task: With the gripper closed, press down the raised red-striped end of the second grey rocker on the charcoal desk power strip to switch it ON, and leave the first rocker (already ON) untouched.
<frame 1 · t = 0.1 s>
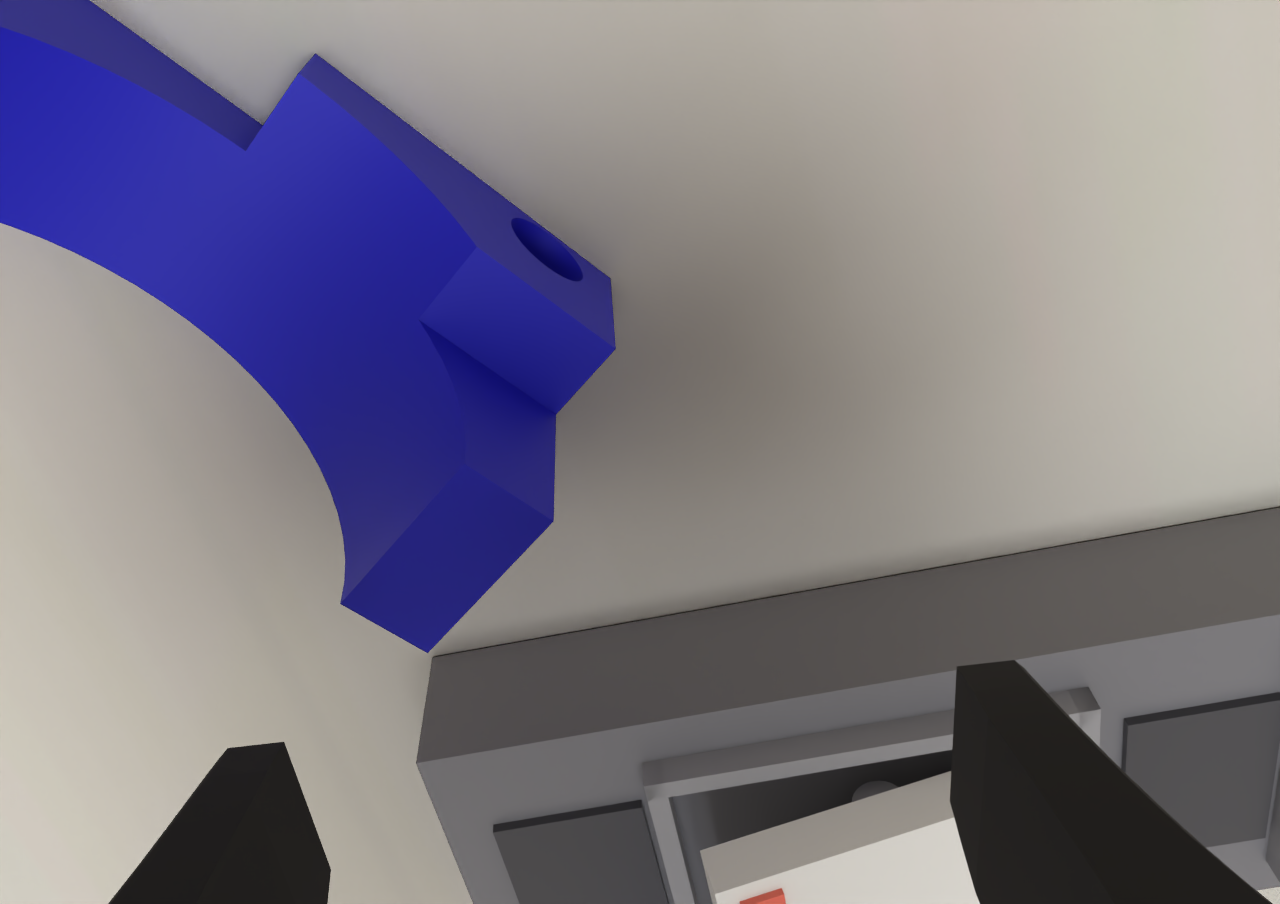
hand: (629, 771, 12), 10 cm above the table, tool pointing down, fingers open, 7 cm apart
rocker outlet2: (893, 883, 22), point 4 cm above the table, hinge at 10.0°
power strip: (1043, 690, 26), on the table
cable clip: (246, 155, 19), on the table
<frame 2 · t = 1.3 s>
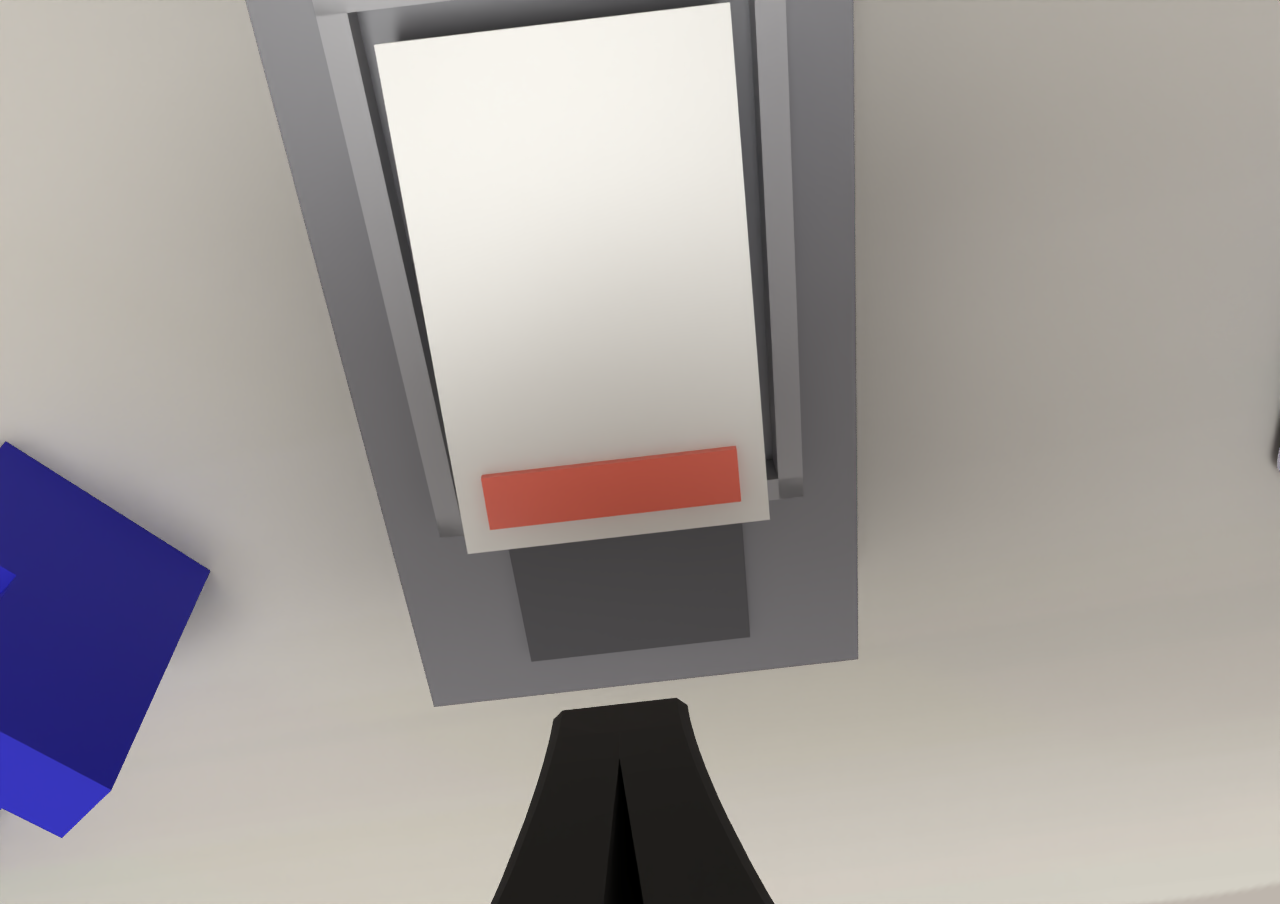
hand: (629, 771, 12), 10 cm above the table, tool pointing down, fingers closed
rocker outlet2: (588, 289, 16), point 4 cm above the table, hinge at 10.0°
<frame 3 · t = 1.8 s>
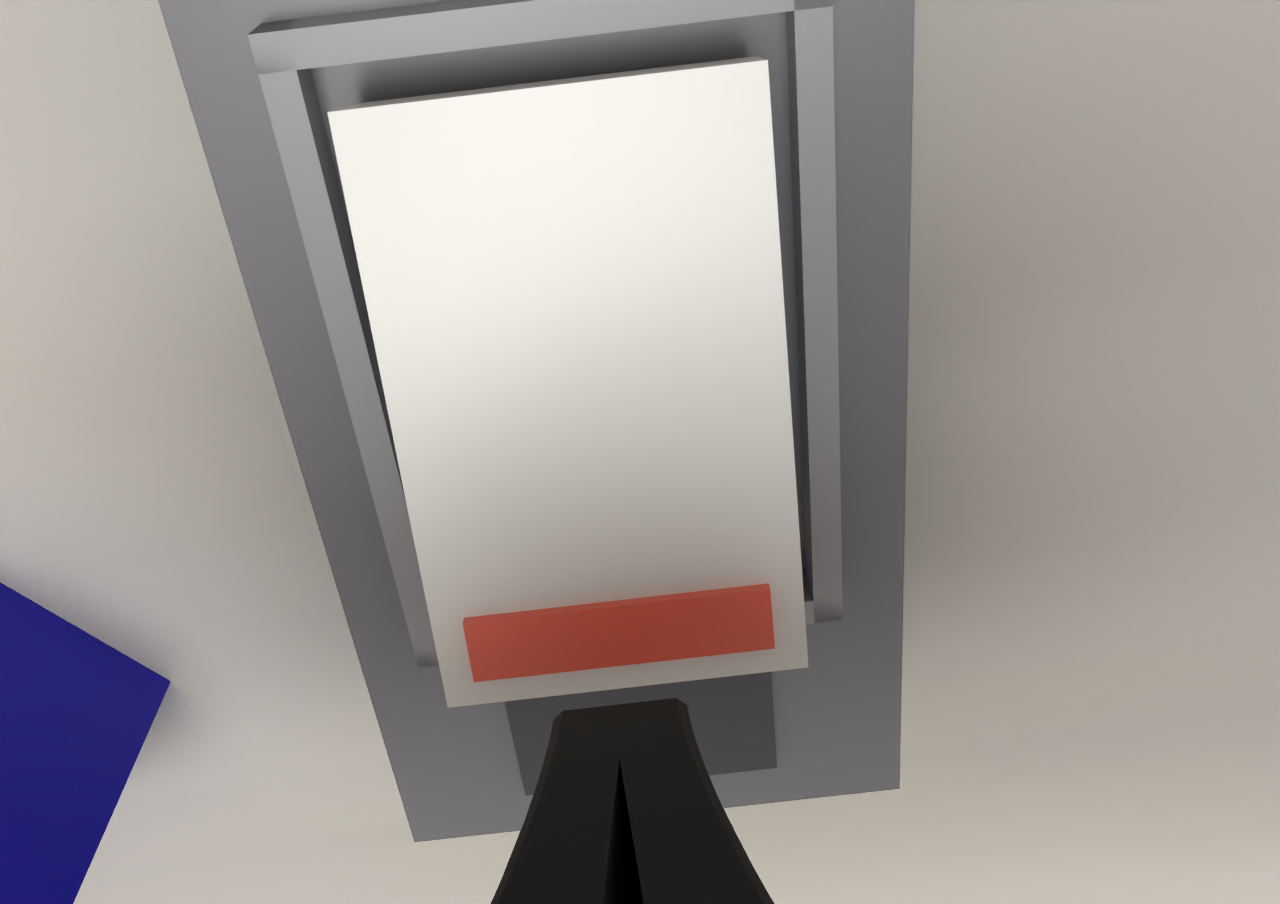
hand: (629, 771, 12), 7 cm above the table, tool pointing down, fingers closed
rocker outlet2: (592, 397, 13), point 4 cm above the table, hinge at 10.0°
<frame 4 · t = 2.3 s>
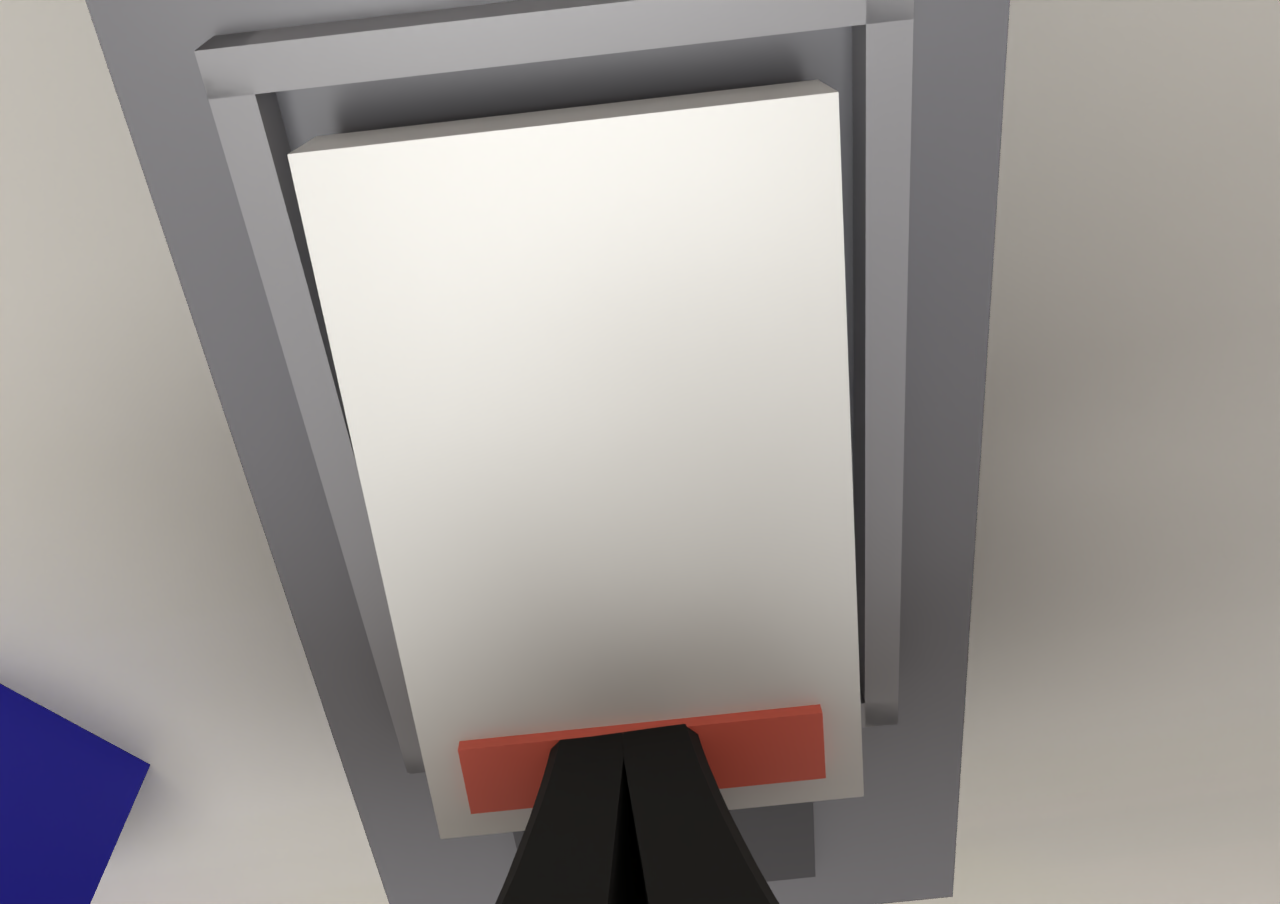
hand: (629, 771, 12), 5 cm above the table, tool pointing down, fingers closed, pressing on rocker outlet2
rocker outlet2: (612, 484, 11), point 4 cm above the table, hinge at 8.2°, touching gripper
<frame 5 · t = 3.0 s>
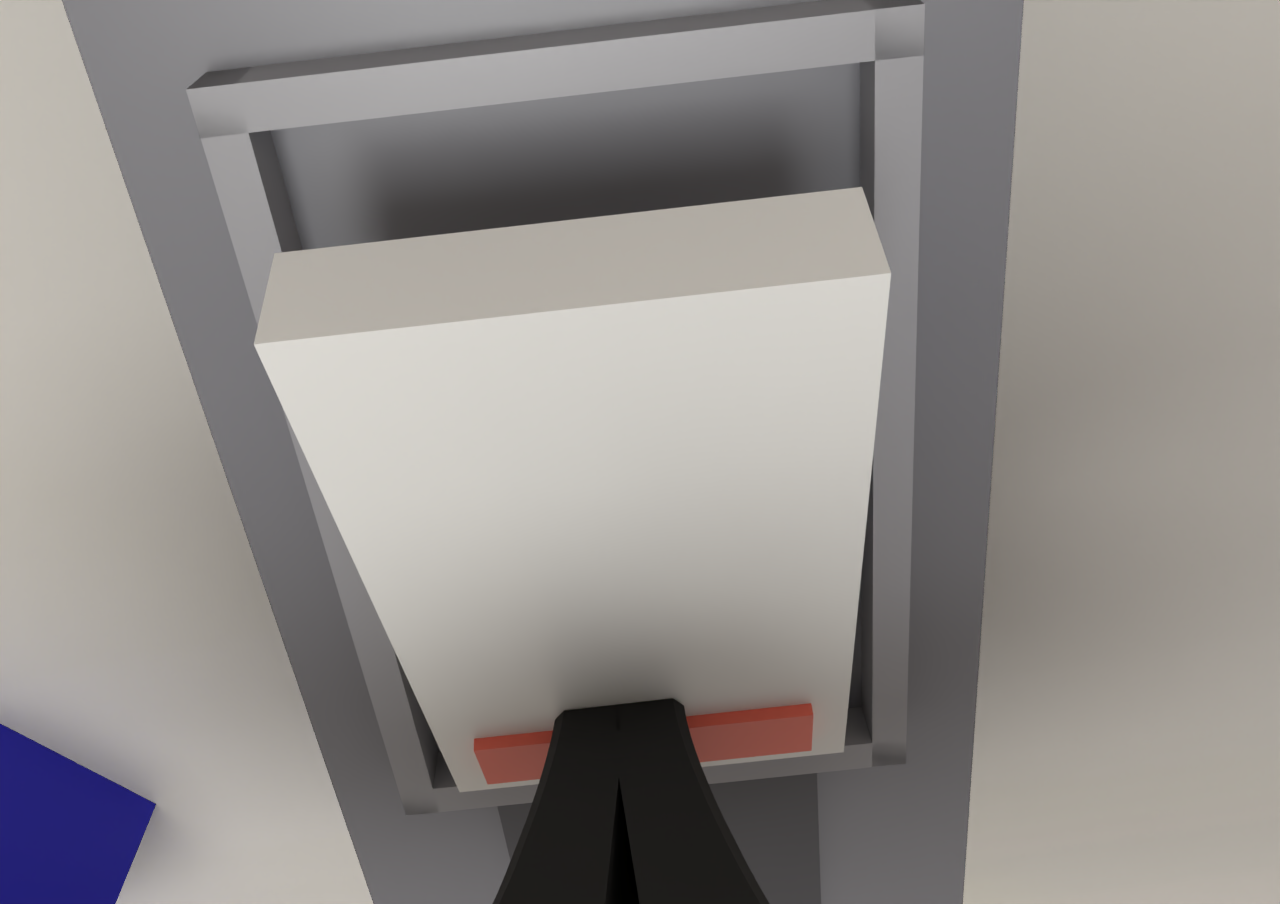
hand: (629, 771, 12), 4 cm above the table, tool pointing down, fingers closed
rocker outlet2: (616, 539, 11), point 4 cm above the table, hinge at -16.9°, touching power strip
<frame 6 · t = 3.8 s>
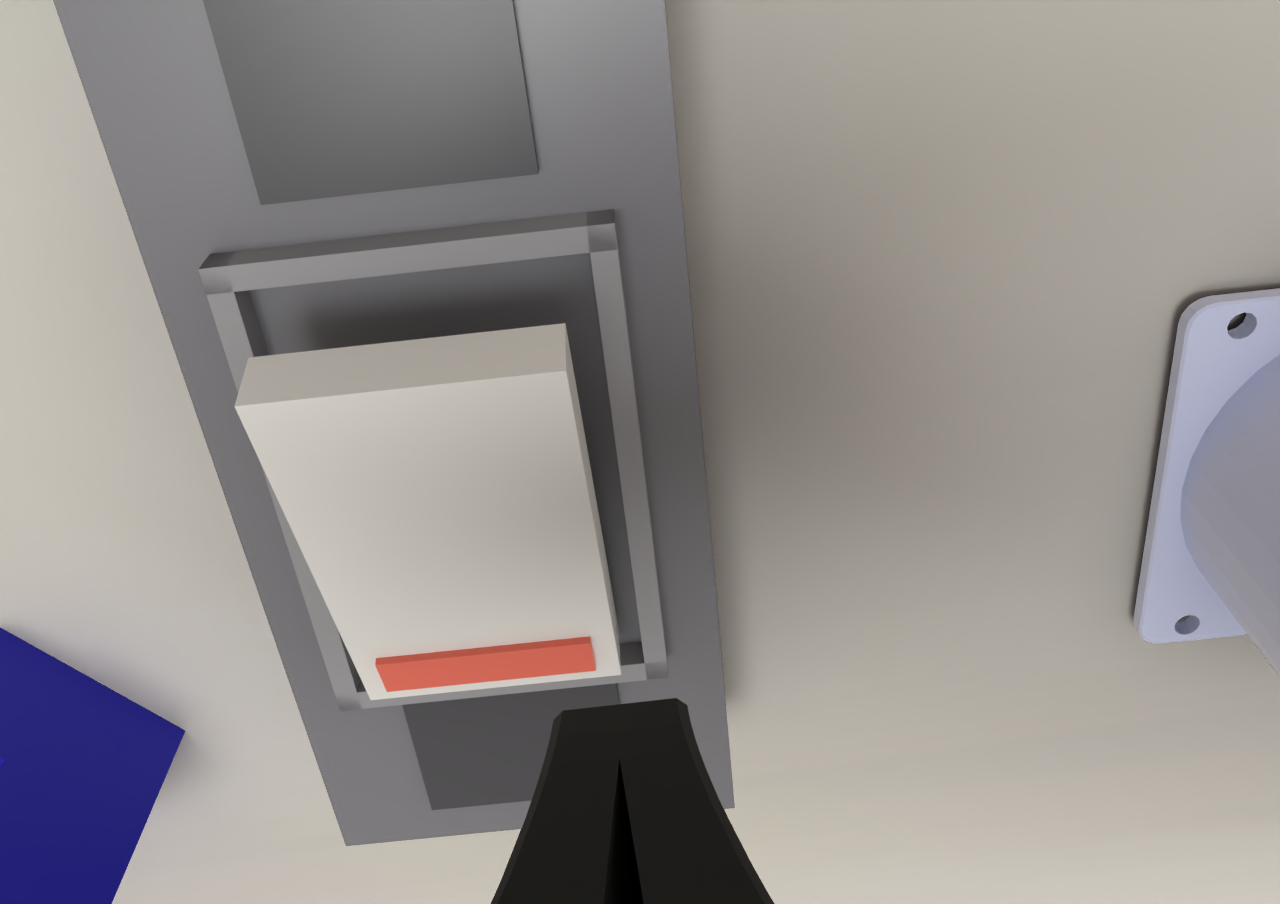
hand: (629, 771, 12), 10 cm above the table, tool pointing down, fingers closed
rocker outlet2: (456, 525, 18), point 4 cm above the table, hinge at -13.8°
power strip: (433, 158, 19), on the table
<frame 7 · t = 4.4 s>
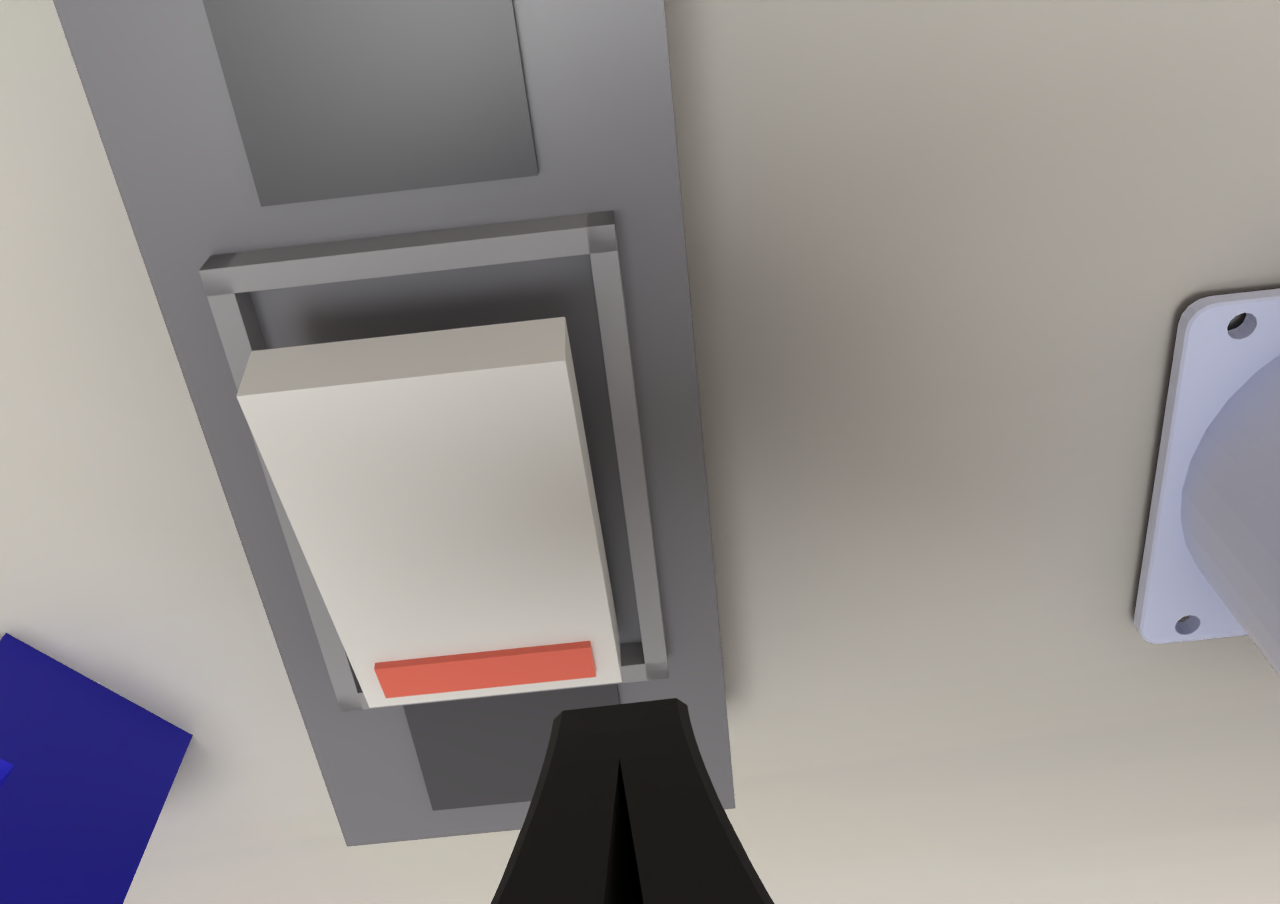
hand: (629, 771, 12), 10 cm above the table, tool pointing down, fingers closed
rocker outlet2: (457, 526, 18), point 4 cm above the table, hinge at -10.9°
power strip: (433, 159, 19), on the table
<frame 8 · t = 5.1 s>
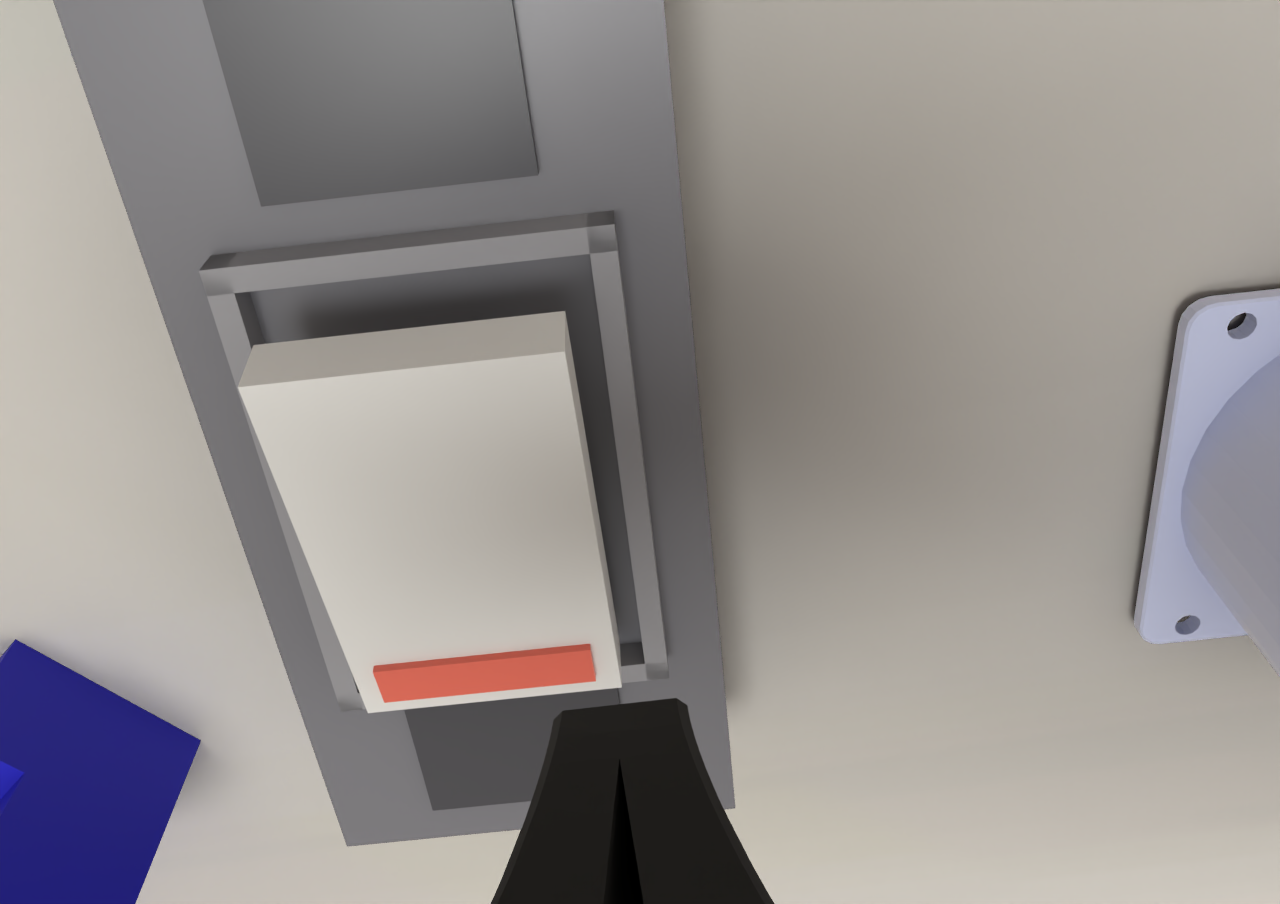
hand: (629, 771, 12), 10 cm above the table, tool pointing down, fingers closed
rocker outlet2: (456, 525, 18), point 4 cm above the table, hinge at -8.6°
power strip: (433, 159, 19), on the table
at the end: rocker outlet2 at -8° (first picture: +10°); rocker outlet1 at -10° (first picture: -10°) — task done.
